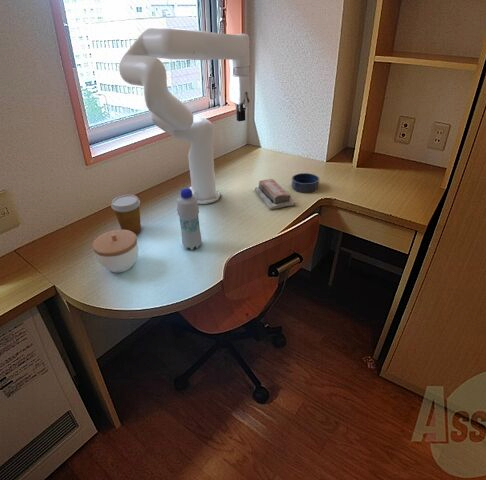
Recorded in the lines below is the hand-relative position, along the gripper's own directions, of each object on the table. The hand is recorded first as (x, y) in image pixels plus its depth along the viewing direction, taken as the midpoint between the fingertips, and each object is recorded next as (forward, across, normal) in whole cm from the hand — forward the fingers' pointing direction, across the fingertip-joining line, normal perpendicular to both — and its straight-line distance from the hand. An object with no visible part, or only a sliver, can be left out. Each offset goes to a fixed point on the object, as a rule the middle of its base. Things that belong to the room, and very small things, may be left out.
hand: (241, 120), depth 146 cm
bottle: (+25, +41, -38) cm, 61 cm away
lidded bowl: (+25, +41, -61) cm, 78 cm away
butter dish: (+25, +24, +2) cm, 35 cm away
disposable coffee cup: (+25, +22, -54) cm, 64 cm away
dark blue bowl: (+25, +22, +18) cm, 38 cm away
